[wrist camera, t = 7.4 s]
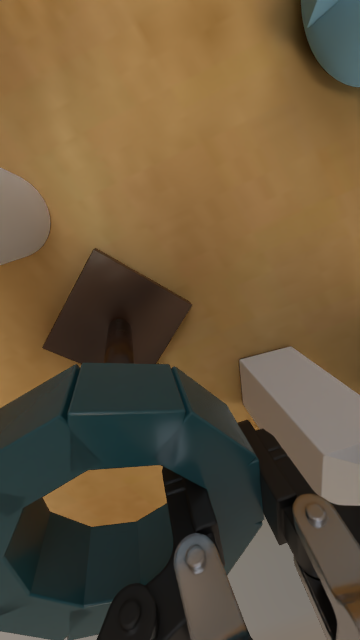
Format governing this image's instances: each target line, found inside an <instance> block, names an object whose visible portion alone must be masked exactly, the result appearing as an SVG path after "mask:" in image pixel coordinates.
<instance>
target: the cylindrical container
mask: <svg viewBox="0 0 360 640" xmlns="http://www.w3.org/2000/svg"><path fill="white" fill-rule="evenodd" d="M50 224H51V223H50V214H49V211H48V207H47V205H46V203H45V201H44V199H43V198H42V196H41V195H40V193H39V192H38V191H37V190H36V189H35V188H34V187H33V186H32V185H31V184H30V183H29V182H27V181H26V180H24V179H23V178H21V177H19V176H17V175H15V174H13V173H11V172H9V171H7V170H5V169H3V168H1V167H0V265H3V264H6V263H9V262H12V261H15V260H18V259H21V258H24V257H26V256H29V255H32V254H33V253H35V252H37V251H38V250H39V249H40V248H41V247H42V246H43V245H44V243H45V242H46V240H47V238H48V235H49V232H50Z"/></svg>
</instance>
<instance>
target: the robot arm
mask: <svg viewBox="0 0 360 640" xmlns="http://www.w3.org/2000/svg"><path fill="white" fill-rule="evenodd" d="M238 425H239V427H240V429H241V430H242V432H243V434H244V435H245V437H246V439H247V440H248V442H249V444H250V446H251V447H252V449H253V451H254V452H255V454H256V456H257V458H258V459H259V465H260V482H261V493H262V505H263V513H264V515H265V517H266V519H267V521H268V523H269V525H270V527H271V529H272V531H273V533H274V535H275V537H276V540H277V541H278V544H279V545H282V544H284V543H288V545H289V547H290V549H291V551H292V553H293V554H294V563H295V566H296V569H297V571H298V574H299V576H300V578H301V581H302V583H303V585H304V588H305V590H306V592H307V594H308V597H309V599H310V601H311V604H312V606H313V608H314V611H315V613H316V615H317V617H318V620H319V622H320V624H321V627H322V629H323V631H324V633H325V636H326V638H327V640H360V506H351V505H337V504H334V503H331V502H329V501H327V500H326V499H324V498H323V497H321V496H319V495H317V494H316V493H315V492H314V490H313V489H312V488H311V487H310V485H309V484H308V483H307V481H306V480H305V478H304V477H303V476H302V474H301V473H300V471H299V470H298V469H297V467H296V466H295V465H294V463H293V462H292V460H291V459H290V458H289V456H287V453H286V452H285V451H284V449H283V448H282V447H281V445H280V444H279V442H278V441H277V440H276V438H275V437H274V436H273V435H272V434H270V433H269V432H267V431H266V430H265V429H260V430H256V431H255V429H254V428H253V426H252V425H251V423H250V422H249V421H248V420H245V421H242V422H238ZM162 475H163V481H164V487H165V493H166V499H167V505H168V510H169V516H170V522H171V528H172V534H173V550H172V554H171V557H170V559H169V561H168V563H167V565H166V566H165V568H164V569H163V570H162V571H161V572H160V573H159V574H158V575H157V576H156V577H154V578H153V579H152V580H151V581H150V582H149V583H147V584H146V585H143V584H140V583H133V584H129V585H127V586H125V587H124V588H123V589H121V590H120V591H119V592H118V593H117V595H116V596H115V597H114V599H113V601H112V602H111V604H110V607H109V609H108V611H107V614H106V617H105V619H104V622H103V625H102V627H101V630H100V632H99V635H98V638H97V640H253V639H252V638H251V636H250V634H249V632H248V630H247V627H246V625H245V622H244V620H243V617H242V614H241V612H240V609H239V606H238V604H237V601H236V599H235V596H234V593H233V591H232V588H231V586H230V583H229V580H228V577H227V575H226V572H225V569H224V567H223V566H226V565H225V560H224V555H223V549H222V544H221V539H220V534H219V528H218V523H217V520H216V517H215V514H214V511H213V508H212V505H211V501H210V498H209V495H208V492H207V489H204V488H202V487H200V486H198V485H196V484H195V483H193V482H191V481H189V480H187V479H185V478H183V477H182V476H180V475H178V474H176V473H174V472H172V471H170V470H169V469H167V468H165V467H163V469H162Z"/></svg>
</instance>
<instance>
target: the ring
mask: <svg viewBox="0 0 360 640" xmlns="http://www.w3.org/2000/svg"><path fill="white" fill-rule="evenodd" d="M152 465H161V466H163V467H165V468H167V469H169V470H170V471H172V472H174V473H176V474H178V475H180V476H182V477H183V478H185V479H187V480H189V481H191V482H193V483H195V484H196V485H198V486H200V487H202V488H204V489H207V492H208V495H209V498H210V501H211V505H212V508H213V511H214V514H215V517H216V520H217V523H218V528H219V534H220V539H221V544H222V549H223V555H224V560H225V565H226V566H223V567H224V569H225V572H226V575H228V573H229V572H230V571H231V569H232V568H233V566H234V565H235V563H236V562H237V561H238V559H239V558H240V556H241V555H242V553H243V552H244V551H245V549H246V548H247V546H248V545H249V543H250V542H251V540H252V539H253V537H254V536H255V535H256V533H257V532H258V530H259V529H260V528H261V526H262V524H263V523H262V521H263V520H264V513H263V505H262V493H261V482H260V465H259V459H258V458H257V456H256V454H255V452H254V451H253V449H252V447H251V446H250V444H249V442H248V440H247V439H246V437H245V435H244V434H243V432H242V430H241V429H240V427H239V425H238V423H237V422H236V420H235V418H234V417H233V415H232V413H231V412H230V410H229V408H228V406H227V405H226V404H225V403H223V402H222V401H221V400H219V399H218V398H217V397H215V396H214V395H213V394H211V393H210V392H209V391H207V390H206V389H205V388H203V387H202V386H201V385H199V384H198V383H197V382H195V381H194V380H193V379H191V378H190V377H189V376H187V375H186V374H185V373H183V372H182V371H181V370H179V369H178V368H177V367H175V366H174V367H172V368H171V367H170V365H169V364H133V363H82V364H81V367H80V368H79V366H78V365H77V364H75V365H73V366H72V367H70V368H68V369H67V370H65V371H63V372H61V373H60V374H58V375H56V376H55V377H53V378H51V379H50V380H48V381H46V382H44V383H43V384H41V385H39V386H38V387H36V388H34V389H32V390H31V391H29V392H27V393H26V394H24V395H22V396H21V397H19V398H17V399H15V400H14V401H12V402H10V403H9V404H7V405H5V406H3V407H2V408H0V631H2V632H9V633H14V634H20V635H27V636H33V637H39V638H44V639H50V640H64V639H65V638H66V637H67V640H74V639H78V638H83V637H88V636H93V635H98V634H99V632H100V630H101V627H102V625H103V622H104V619H105V617H106V614H107V611H108V609H109V607H110V604H111V602H112V601H113V599H114V597H115V596H116V595H117V593H118V592H119V591H120V590H121V589H123V588H124V587H125V586H127V585H129V584H133V583H140V584H143V585H146V584H147V583H149V582H150V581H151V580H152V579H153V578H154V577H156V576H157V575H158V574H159V573H160V572H161V571H162V570H163V569H164V568H165V566H166V565H167V563H168V561H169V559H170V557H171V554H172V550H173V534H172V528H171V522H170V516H169V510H168V505H167V504H165V505H163V506H162V507H160V508H158V509H156V510H155V511H153V512H151V513H150V514H148V515H146V516H145V517H143V518H141V519H140V520H138V521H136V522H128V523H120V524H112V525H104V526H96V527H90V526H88V525H85V524H82V523H79V522H77V521H74V520H71V519H69V518H66V517H63V516H61V515H58V514H55V513H52V512H50V511H49V509H48V507H47V505H46V503H45V501H44V500H43V498H42V497H43V496H45V495H47V494H48V493H50V492H52V491H53V490H55V489H57V488H59V487H60V486H62V485H64V484H65V483H67V482H69V481H70V480H72V479H74V478H75V477H77V476H79V475H80V474H82V473H84V472H86V471H87V470H97V469H110V468H124V467H138V466H152Z"/></svg>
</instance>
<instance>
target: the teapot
mask: <svg viewBox="0 0 360 640" xmlns="http://www.w3.org/2000/svg"><path fill="white" fill-rule="evenodd" d="M301 11H302V19H303V25H304V30H305V33H306V37H307V40H308V43H309V45H310V48H311V50H312V52H313V54H314V56H315V58H316V59H317V61H318V62H319V64H320V65H321V66H322V67H323V68H324V69H325V70H326V72H327V73H328V74H330V75H331V76H332V77H334V78H335V79H336V80H338V81H340V82H342V83H344V84H346V85H349V86H353V87H360V0H301Z"/></svg>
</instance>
